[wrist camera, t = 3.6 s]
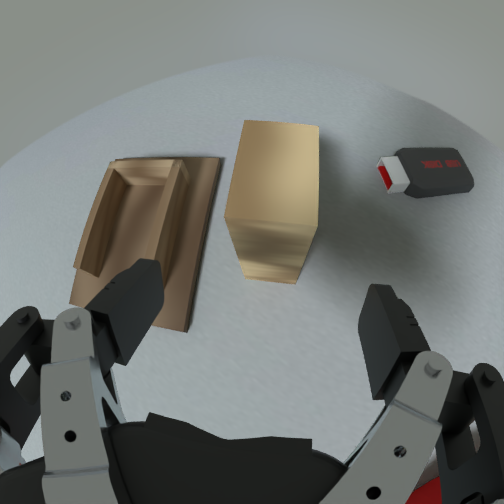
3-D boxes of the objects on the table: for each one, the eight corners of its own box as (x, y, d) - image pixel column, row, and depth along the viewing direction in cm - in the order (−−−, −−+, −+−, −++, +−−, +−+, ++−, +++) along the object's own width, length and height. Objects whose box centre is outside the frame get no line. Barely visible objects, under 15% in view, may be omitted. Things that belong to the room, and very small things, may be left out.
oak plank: (300, 216, 24) (318, 126, 13) (295, 284, 22) (317, 226, 11) (254, 212, 24) (244, 120, 14) (245, 278, 22) (223, 216, 12)
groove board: (220, 164, 26) (213, 137, 22) (187, 332, 21) (169, 329, 17) (119, 164, 27) (103, 142, 24) (75, 305, 22) (49, 296, 18)
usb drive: (467, 193, 24) (479, 181, 21) (390, 203, 24) (400, 188, 21) (449, 157, 26) (458, 144, 23) (371, 161, 26) (379, 144, 23)
